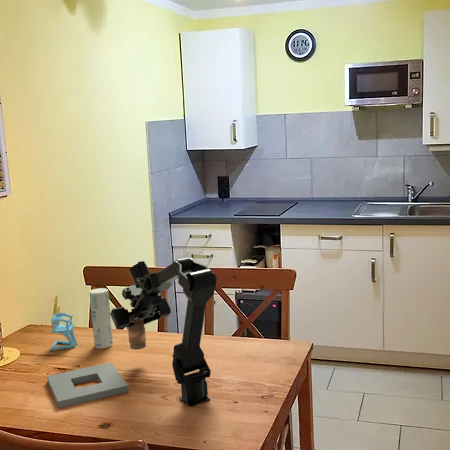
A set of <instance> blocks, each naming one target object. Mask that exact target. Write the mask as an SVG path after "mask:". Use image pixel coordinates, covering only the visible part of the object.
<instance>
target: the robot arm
mask: <svg viewBox="0 0 450 450" xmlns="http://www.w3.org/2000/svg"><path fill="white" fill-rule="evenodd" d="M128 273H129V275H130V277H131V279H132V281H133V283H134V284H133V285H129V286H126V287H125V288H123V289H122V292H121V295H122V297H123V299H124V301H125V300H129V301H130V303H129V305H130V307H131V309H130V310H131V311H129V310H128V308H125V307H124V306H119V307H116V308H112V309H111V310H110V317H111V321H113V324H114V327H115V328H116V329H117V330H121V329H123V328H126V329H127V330H128V329H129V328H131V327H132V326H134V323H133V321H134V319H137V318H138V319H139V320H140V319H144V326H145V325H147V324H150V323H152V322H155V321H157V320H160V319H163V318H166V317H169V316H170V315H171V314H172V309H171V307H170V304H169V302H168V300H167V298H166V297H163V296H162V292H164V291H167V290H169V289H170V288H171V287H172V285H173V282H174V281H176V280H177V279H178V285H180V288H181V287H182V291H183V294H185V297H186V298H187V305H186V309H185V310H186V311H185V317H184V318H185V319H184V326H183V333H182V339H181V340H182V342H181V343H177V344H175V345H173V353H172V362H171V367H172V370H173V374H174V377H175V381H176V382H177V384H178V385H180V389H181V390H180V391H181V395H180V396H179V397H178V399H179V400H180V401H182V402H183V404H186V405H188V406H189V407H194V406H196V405H199V404H202V403H205V402H208V401H210V400H211V397H209V396H208V395H209V392H208V391H209V390H208V382H207V380H206V379H207V378H211V374H212V373H211V369H210V367H209V365H208V362H207V361H206V358H205V353H204V351H203V349H202V347H201V341H202V340H201V339H202V333H203V327H204V321H205V314H206V307H207V303H208V302H209V301H210V299H212V297H213V296H214V293H215V291H216V288H217V283H218V280H217V275H216V274H215V272H213V271H212V270H211V269H210V267H209V266H207V265H205V264H203V263H199V262H196V261H195V260H194V259H193V258H192V257H183V258H179V259H175V260H173V262H172V263H171V264H169V265H167V266H166V267H164V268H163V269H161V270H159V271H158V272H157V271H156V272H152V273H151V271H150V270H149V267H148V265H147V264H146V262H145V260H141V261H138V262H137V263H135V264H134V265H132V266H131V267H130V268H129V269H128Z"/></svg>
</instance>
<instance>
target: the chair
mask: <svg viewBox="0 0 450 450" xmlns="http://www.w3.org/2000/svg"><path fill="white" fill-rule="evenodd" d="M64 317H67V318H69V319H66V318H64ZM50 322H51V325H52V329H51V330H50V331H51V334H61V335H63V336H64V337H65V338H66V340H55V341H54V342H53V344H52V345H51V347H50V348H49V349H50V351H51V350H54V351H58V349H60V350H65V349H64V348H67V349H71V348H72V347H74V348H76V346H77V345H78V342H77V339H76V336H75V333H74V329H73V328H74V327H75V323H73V315H71V314H68V313H67V312H61V313H60V312H59V313H55V314H53V315H52V317H51V320H50ZM60 322H63V323H66V324H60ZM55 323H56V324H55ZM58 343H62V344H61V346H60V345H59V346H57V345H58ZM68 344H71V345H68ZM55 345H56V346H55ZM72 349H73V348H72Z"/></svg>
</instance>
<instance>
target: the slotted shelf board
mask: <svg viewBox="0 0 450 450" xmlns="http://www.w3.org/2000/svg"><path fill="white" fill-rule="evenodd" d="M46 379H47V384H48V387H49V389H50V391H51V394H52V395H53V398H54V400H55V403H56V405H57V407H58V409H60V408H65V407H70V406H73V405H78V404H83V403H86V402H92V401H95V400H99V399H104V398H107V397H112V396H117V395H121V394H125V393H129V384H128V383H127V382H126V381H125V379H124V378H123V377H122V375H121V374H120V372H119V371H118V370H117V368H116V367H115V366H114V364H113V362H106V363H102V364H98V365H93V366H89V367H88V366H87V367H82V368H79V369H74V370H70V371H69V370H68V371H64V372H59V373H55V374H50V375H46ZM96 380H97V381H98V382H99V383H95V384H90V385H85V386H80V387H77V388H76V387H75V385H77V384H83V383H86V382H91V381H96Z"/></svg>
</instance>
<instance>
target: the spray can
mask: <svg viewBox="0 0 450 450" xmlns="http://www.w3.org/2000/svg"><path fill="white" fill-rule="evenodd" d="M88 293H89V305H90V313H91V321H92V332H93V333H92V334H93V341H94V347H95V348H96V349H107V348H111V347H113V344H114V343H113V333H112V332H113V331H112V317H111V315H110V313H111V308H110V296H109V289H107V288H104V287H102V288H101V287H100V288H93V289H91V290H89V292H88Z"/></svg>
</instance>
